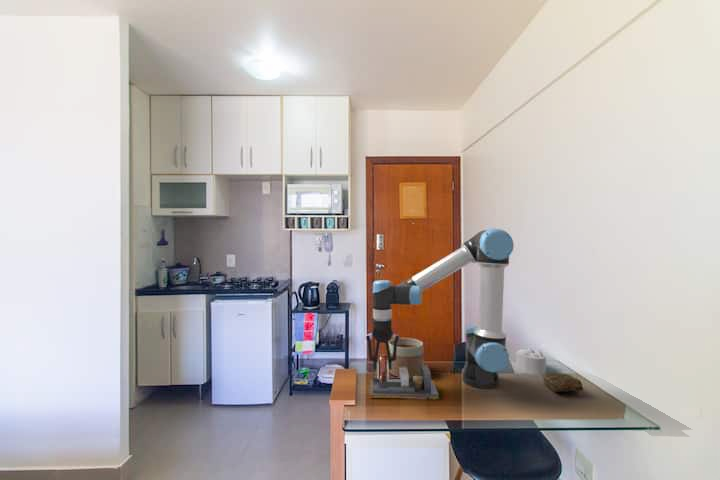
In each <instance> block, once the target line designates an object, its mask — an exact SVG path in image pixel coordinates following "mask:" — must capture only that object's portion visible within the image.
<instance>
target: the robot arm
mask: <svg viewBox="0 0 720 480" xmlns="http://www.w3.org/2000/svg"><path fill="white" fill-rule="evenodd" d="M514 244H515V243H514V240H513V238H512V236H511V235H510V234H509V233H508V232H507V231H506V230H504V229H500V228H489V229H485V230H482V231H479V232H477V233H476V234H474V235H473V236H472V237H470V238H469V239H468V240H467V241H465V242H463V243H462V244H461V246H460V248H458V249H456V250H454V251H453V252H452V253H450V254H448V255H446V256H445V257H443V258H441V259H440V260H438V261H436V262H434V263H433V264H432V265H430V266H428V267H426V268H424V269H423V270H421V271H420V272H418V273H416V274H415V275H413V276H411V277H409V278H408V279H407V280H403V281H402V282H400V283H399V284H398V285H393V284H392V282H391V281H390V280H385V279H380V280H379V279H378V280H375V281H374V282H373V283H372V318H373V319H372V331H371V333H368V334H366V335H365V338H366V340H367V346H368V359H369V361H372V362H373V370H376V377H377V379H379V359H378V358H379V350H380V344H385V349H386V355H387V379H389V377H390V375H389V374H390V372H389V370H391V369H392V368H391V362H392V361H395V360H396V351H397V341H398V339H399V338H400V335H399V334H396V333H394V332H393V329H392V328H393V327H392V326H393V324H392V317H393V316H392V311H393V310H392V305H405V306H407V305H409V306H410V305H411V306H414V305H415V306H416V305H421V304H422V300H423V299H422V292H423V291H425V290H427V289H428V288H430V287H431V286H434V285H435V284H436V283H439V282H440V281H442V280H443V279H445V278H447V277H448V276H451V275H452V274H454V273H456V272H457V271H459V270H461V269H462V268H464V267H466V266H468V265H469V264H472V263H473V264H475V263H476V264H477V265H478V266H479V267H480V274H479V275H480V276H479V297H478V299H479V300H478V302H479V303H478V320H477V321H478V325H477V326H468V327H466V328H465V333H464V335H465V364H464V366H463V371H462V372H461V380H462V382H463V383H464V384H466V385H469V386H471V387H474V388H477V389H478V388H479V389H494V388H497V387H499V386H500V376H499V373H498V372H501V371H502V370H503V369H505V368H506V367H507V366H508V364H509V361H510V355H509V351H508V348H507V346H506V344H507V343H506V342H507V335H506V333H505V332H504V331H503V313H504V311H503V309H504V287H505V286H504V285H505V269H506V268H507V267H508V266H509V264H510V255H512V252H513V250H514V246H515V245H514ZM373 338H374V340H375V341H376V342H375V343H376V344H375V348H374V349H375V350H374V356H373V349H372V348H373V347H372V346H373V345H372V339H373ZM391 338H392V339H393V340H394V344H393V356H392V357H391V354H390V349H389V343H388V342H389V341H390V340H391Z"/></svg>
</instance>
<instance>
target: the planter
mask: <svg viewBox="0 0 720 480" xmlns="http://www.w3.org/2000/svg"><path fill="white" fill-rule="evenodd" d="M388 343H389V349H390V354H391V357H392V356H393V344H394V340H393V338H392V339H390V340H389V341H388ZM421 365H424V342H423V341H421V340H419V339H416V338H413V337H412V338H410V337H399V339H398V341H397V351H396V360H395V361H392V362H391V368H392V369H391V370H389V374H391V375H392V376H393V377H396V376H397V377H400V369H399V367H407V370H408V374H409V377H411V378H412V379H413V376H421Z"/></svg>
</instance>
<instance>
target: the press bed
mask: <svg viewBox="0 0 720 480" xmlns="http://www.w3.org/2000/svg"><path fill="white" fill-rule="evenodd" d="M421 377H423V388H421V389H416V388H414V387H413V378H411V377H409V387H379V379H377V376H372V379H370V384H369V385H370V388H369V395H375V396H400V397H417V398H429V397H432V398H433V397H436V398H439V399H440V397H439V395H440V394H439V392H438V390H437V388H436V385H435V382H434V380H433V379H432V373H431V371H430V368H429V366H428V365H427V364H423V365H421ZM389 379H399V380H400V377H396V376H389Z"/></svg>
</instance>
